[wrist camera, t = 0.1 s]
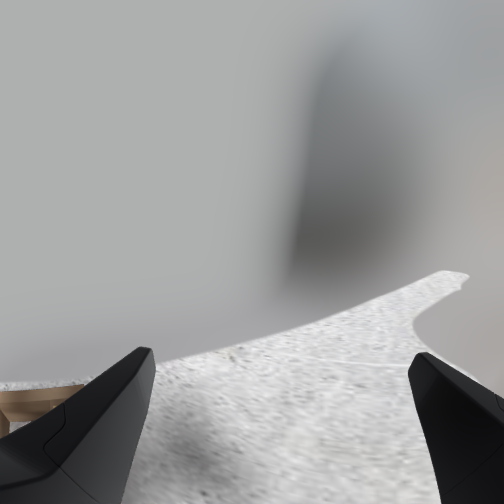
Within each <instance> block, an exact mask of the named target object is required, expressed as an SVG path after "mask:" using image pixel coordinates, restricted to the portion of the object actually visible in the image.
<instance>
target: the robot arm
mask: <svg viewBox="0 0 504 504" xmlns="http://www.w3.org/2000/svg"><path fill="white" fill-rule="evenodd" d="M155 372H156V367H155V361H154V355H153V351H152V349H151V348H147V347H138V348H136V349H135V350H134V351H132V352H131V353H130V354H128V355H127V356H125V357H124V358H123V359H122V360H120V361H119V362H117V363H116V364H114V365H113V366H112V367H110V368H109V369H108V370H106V371H105V372H103V373H102V374H101V375H99V376H98V377H96V378H95V379H94V380H92V381H91V382H90V383H88V384H87V385H85V386H84V387H83V388H81V389H80V390H78V391H77V392H76V393H74V394H73V395H71V396H70V397H69V398H67V399H66V400H64V402H61V403H60V404H59V405H57V406H56V407H54V408H53V409H51V410H50V411H48V412H47V413H45V414H44V415H42V416H41V417H39V418H37V419H36V420H34V421H32V422H30V423H28V424H27V425H25V426H23V427H21V428H19V429H17V430H15V431H13V432H12V433H10V434H8V435H6V436H4V437H2V438H0V504H121V500H122V497H123V493H124V489H125V486H126V482H127V478H128V475H129V471H130V468H131V465H132V461H133V458H134V454H135V451H136V448H137V445H138V441H139V438H140V435H141V432H142V429H143V425H144V422H145V419H146V416H147V412H148V408H149V402H150V397H151V392H152V387H153V382H154V377H155ZM408 378H409V382H410V386H411V390H412V394H413V398H414V403H415V407H416V410H417V414H418V417H419V420H420V423H421V426H422V429H423V433H424V436H425V439H426V443H427V446H428V450H429V453H430V457H431V461H432V464H433V468H434V472H435V476H436V481H437V485H438V489H439V494H440V499H441V504H504V399H503V398H502V397H500V396H498V395H497V394H494V393H493V392H492V391H490V390H488V389H487V388H485V387H484V386H482V385H480V384H479V383H477V382H475V381H474V380H472V379H471V378H469V377H467V376H466V375H464V374H462V373H461V372H459V371H457V370H456V369H454V368H453V367H451V366H449V365H448V364H446V363H444V362H443V361H441V360H439V359H438V358H436V357H434V356H433V355H431V354H429V353H428V352H422V353H418V354H416V356H415V358H414V360H413V362H412V364H411V366H410V368H409V370H408Z"/></svg>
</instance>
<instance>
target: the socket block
mask: <svg viewBox="0 0 504 504" xmlns="http://www.w3.org/2000/svg"><path fill="white" fill-rule="evenodd" d="M83 387H84V384H81V385H73V386H65V387H57V388H47V389H36V390H23V391H4V392H0V438H2V437H4V436H6V435H8V434H9V422H18V421H34V420H36V419H37V418H39V417H41V416H42V415H44V414H45V413H47V412H48V411H50V410H51V409H53V408H54V407H56V406H57V405H59V404H60V403H61V402H64V400H66V399H67V398H69V397H70V396H71V395H73V394H74V393H76V392H77V391H78V390H80V389H81V388H83Z"/></svg>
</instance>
